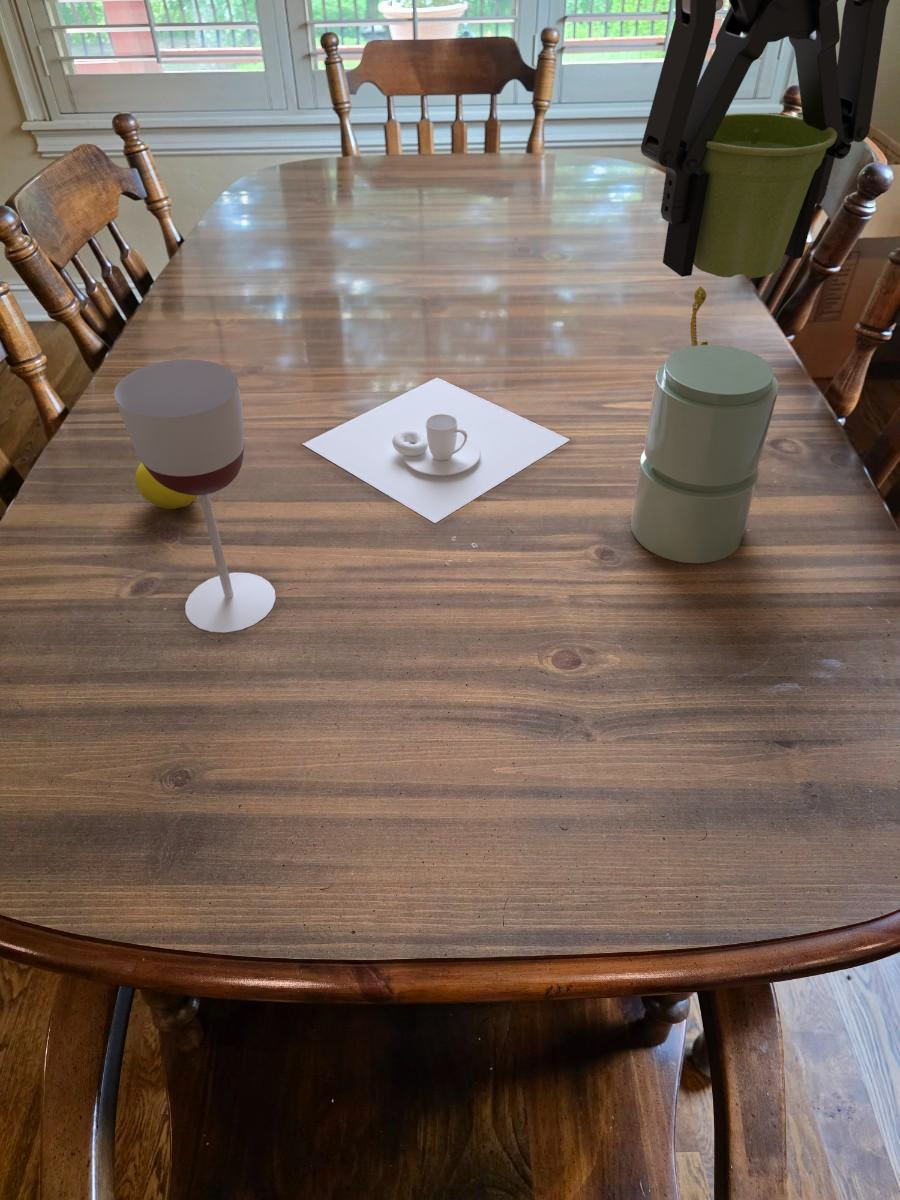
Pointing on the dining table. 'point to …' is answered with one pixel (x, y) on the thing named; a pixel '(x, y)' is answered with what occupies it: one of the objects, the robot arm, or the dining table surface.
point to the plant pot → (755, 191)
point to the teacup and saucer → (436, 447)
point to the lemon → (160, 491)
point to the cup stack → (702, 452)
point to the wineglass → (196, 467)
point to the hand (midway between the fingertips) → (732, 259)
